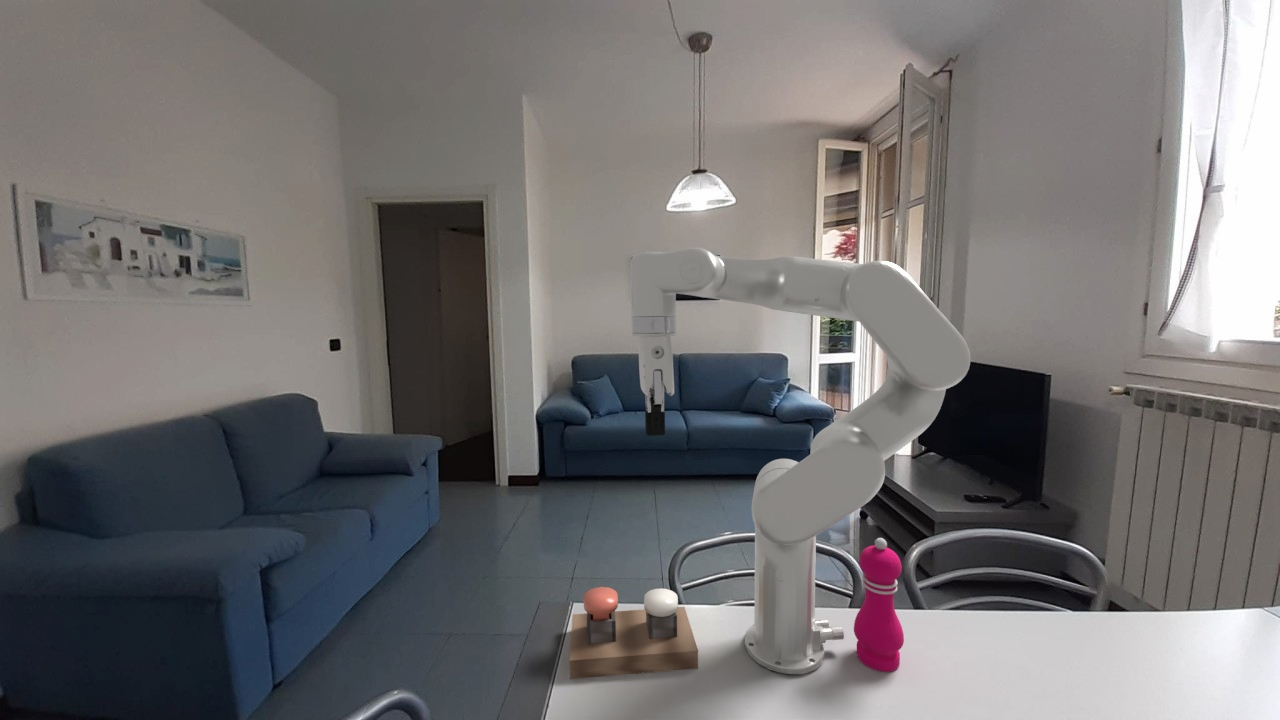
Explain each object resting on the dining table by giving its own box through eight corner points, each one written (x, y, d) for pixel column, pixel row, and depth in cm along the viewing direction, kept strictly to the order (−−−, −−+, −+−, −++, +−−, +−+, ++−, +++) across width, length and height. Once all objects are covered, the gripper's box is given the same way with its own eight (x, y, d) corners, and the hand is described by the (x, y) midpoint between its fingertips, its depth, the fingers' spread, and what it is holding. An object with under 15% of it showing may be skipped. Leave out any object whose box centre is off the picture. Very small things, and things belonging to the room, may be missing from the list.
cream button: (675, 616, 87) (674, 587, 87) (680, 636, 82) (680, 606, 81) (643, 618, 87) (642, 589, 86) (646, 639, 81) (645, 608, 81)
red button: (617, 615, 86) (616, 586, 86) (619, 635, 81) (618, 604, 80) (584, 617, 86) (583, 588, 85) (584, 638, 80) (583, 607, 80)
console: (684, 622, 91) (684, 588, 90) (698, 668, 79) (697, 629, 78) (573, 630, 89) (572, 595, 88) (569, 679, 77) (568, 638, 77)
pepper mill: (909, 677, 76) (913, 550, 75) (858, 671, 78) (861, 547, 76) (895, 646, 83) (898, 530, 82) (849, 641, 85) (851, 527, 83)
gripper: (683, 327, 78) (684, 444, 79) (669, 326, 92) (670, 424, 94) (635, 328, 77) (637, 446, 79) (628, 326, 92) (630, 425, 93)
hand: (655, 434), depth 86 cm, fingers closed
